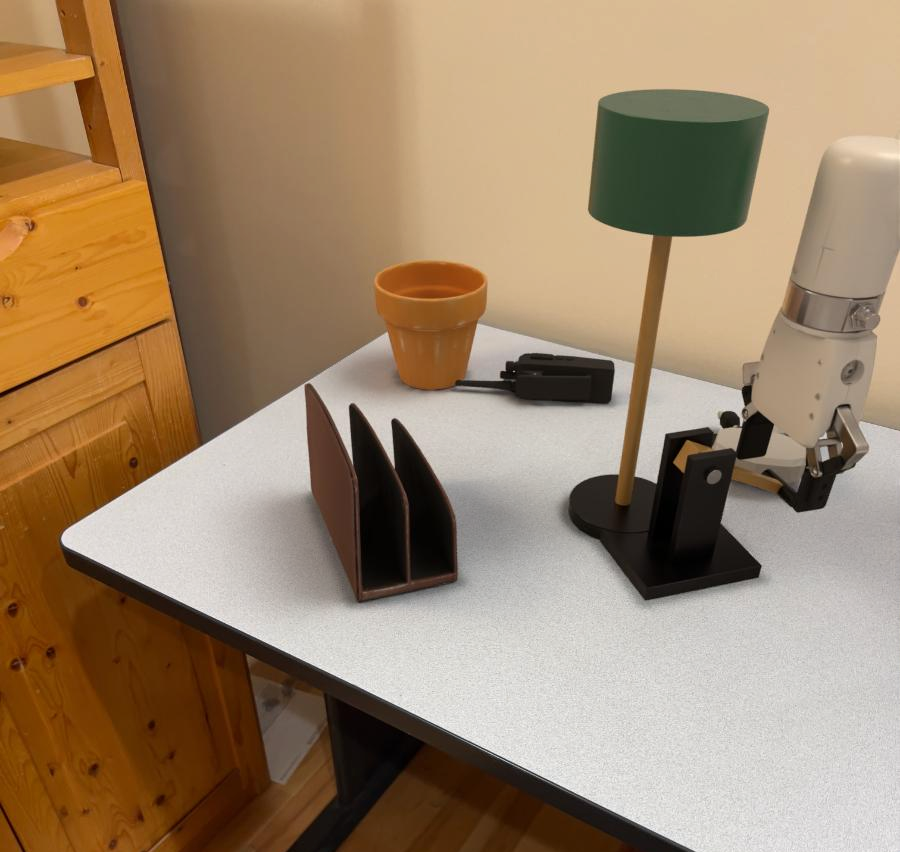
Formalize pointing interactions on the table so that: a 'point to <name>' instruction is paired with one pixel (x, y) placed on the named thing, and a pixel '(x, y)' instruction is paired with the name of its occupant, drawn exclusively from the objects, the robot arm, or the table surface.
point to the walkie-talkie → (554, 378)
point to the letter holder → (380, 506)
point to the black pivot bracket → (685, 526)
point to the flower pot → (431, 318)
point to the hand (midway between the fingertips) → (777, 481)
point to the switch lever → (744, 474)
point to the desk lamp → (662, 235)
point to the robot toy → (779, 457)
